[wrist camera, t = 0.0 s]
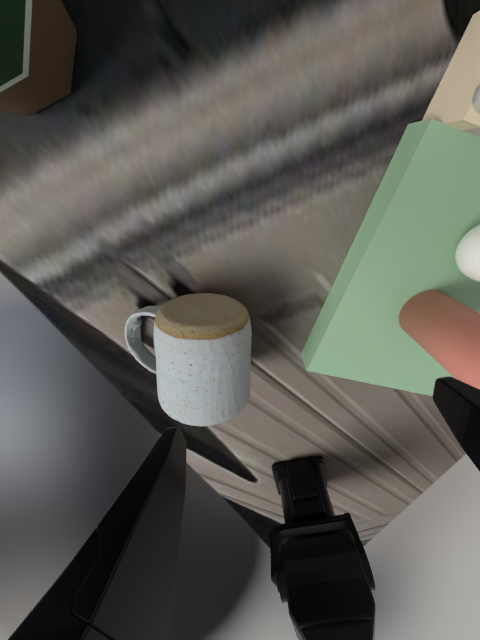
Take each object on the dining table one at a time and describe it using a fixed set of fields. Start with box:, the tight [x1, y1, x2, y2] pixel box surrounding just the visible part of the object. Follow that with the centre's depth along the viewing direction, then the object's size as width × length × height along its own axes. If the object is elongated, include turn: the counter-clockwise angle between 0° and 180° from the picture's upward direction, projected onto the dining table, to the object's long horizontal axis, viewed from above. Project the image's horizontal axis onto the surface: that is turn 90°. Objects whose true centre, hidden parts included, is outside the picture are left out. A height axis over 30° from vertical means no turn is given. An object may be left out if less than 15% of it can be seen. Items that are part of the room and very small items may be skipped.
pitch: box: [300, 119, 480, 396], centre depth 22 cm, size 19×14×2 cm
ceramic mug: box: [125, 293, 252, 426], centre depth 22 cm, size 11×8×8 cm
